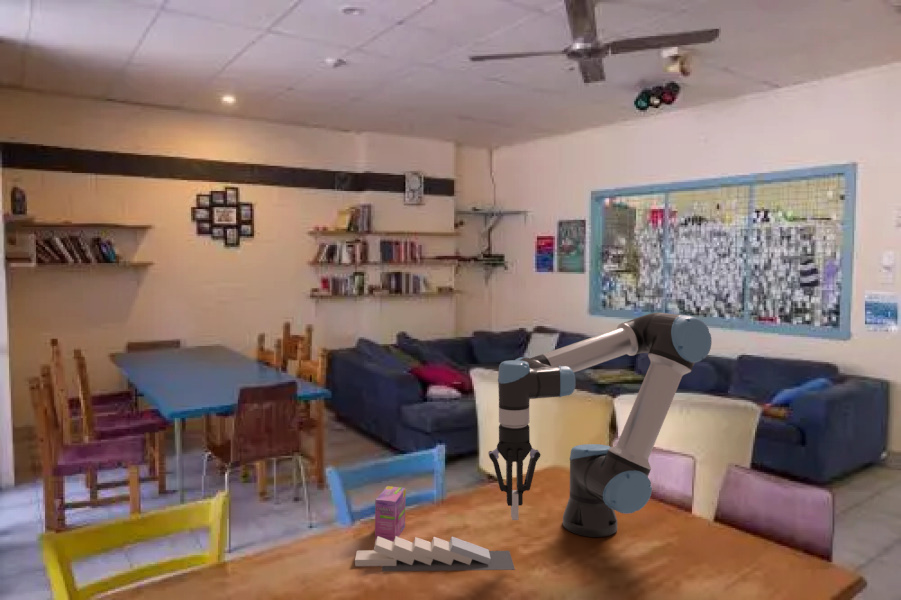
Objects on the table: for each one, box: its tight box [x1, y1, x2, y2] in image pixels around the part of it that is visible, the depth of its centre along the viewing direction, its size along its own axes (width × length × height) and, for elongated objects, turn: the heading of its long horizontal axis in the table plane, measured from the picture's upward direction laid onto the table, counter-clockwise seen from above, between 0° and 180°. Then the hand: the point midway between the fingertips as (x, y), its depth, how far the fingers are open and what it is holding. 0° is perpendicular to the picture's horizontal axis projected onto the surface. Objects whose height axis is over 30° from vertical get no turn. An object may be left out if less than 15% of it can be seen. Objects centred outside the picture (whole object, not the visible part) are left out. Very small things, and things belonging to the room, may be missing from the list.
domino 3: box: [392, 536, 433, 565], centre depth 156 cm, size 2×5×10 cm
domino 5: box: [431, 536, 472, 565], centre depth 157 cm, size 2×5×10 cm
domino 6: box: [448, 536, 491, 565], centre depth 157 cm, size 2×5×10 cm
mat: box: [381, 550, 516, 572], centre depth 157 cm, size 32×10×1 cm, turn 92°
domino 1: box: [354, 549, 397, 567], centre depth 156 cm, size 2×5×10 cm
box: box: [374, 485, 407, 542], centre depth 172 cm, size 10×6×12 cm, turn 168°
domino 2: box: [373, 536, 414, 565], centre depth 156 cm, size 2×5×10 cm
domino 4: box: [413, 536, 453, 565], centre depth 157 cm, size 2×5×10 cm
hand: (514, 517), depth 157 cm, fingers closed
